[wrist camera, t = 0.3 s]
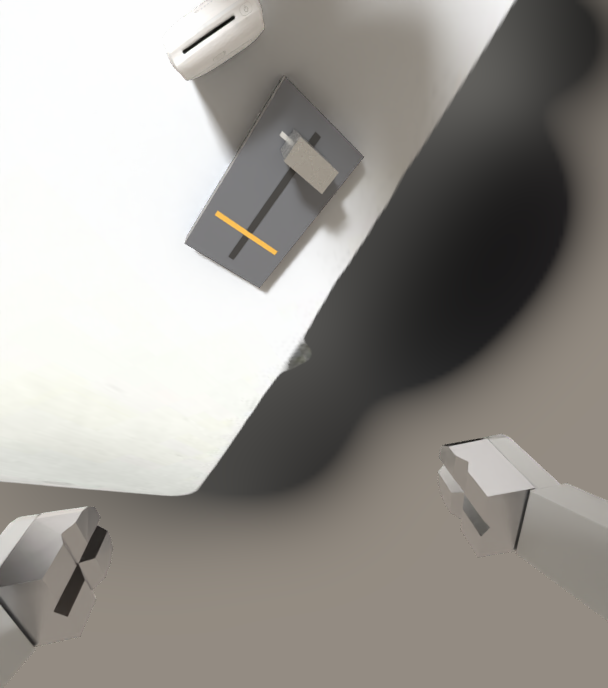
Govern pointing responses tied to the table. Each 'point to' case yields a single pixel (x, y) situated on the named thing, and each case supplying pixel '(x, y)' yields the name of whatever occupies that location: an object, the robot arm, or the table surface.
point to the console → (269, 189)
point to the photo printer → (212, 35)
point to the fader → (308, 162)
